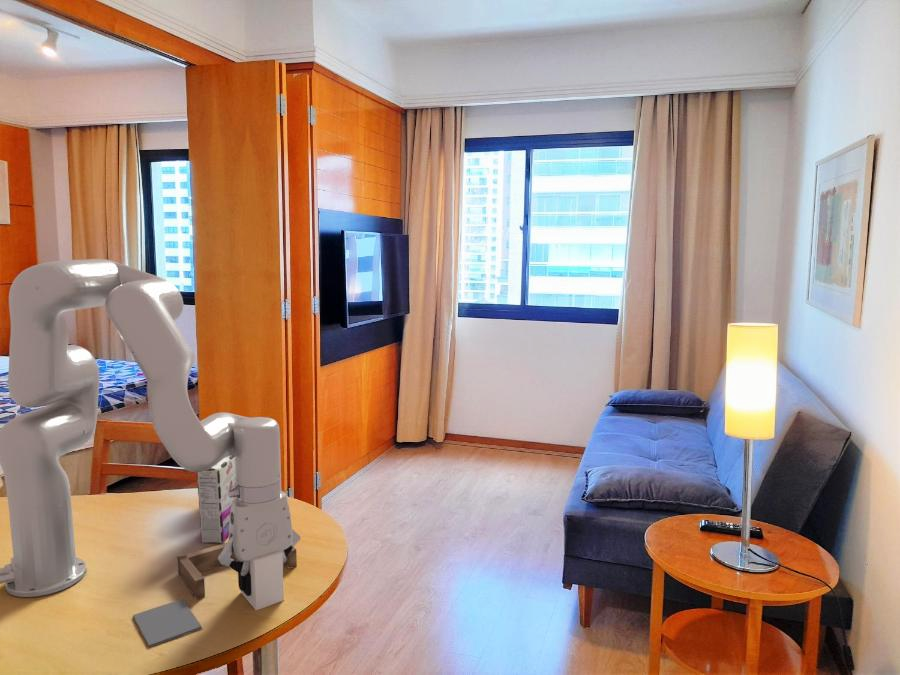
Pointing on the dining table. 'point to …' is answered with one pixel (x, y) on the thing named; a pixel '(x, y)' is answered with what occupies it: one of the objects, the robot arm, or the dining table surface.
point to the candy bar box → (216, 500)
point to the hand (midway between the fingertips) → (261, 586)
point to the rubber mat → (166, 622)
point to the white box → (266, 580)
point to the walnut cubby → (209, 566)
